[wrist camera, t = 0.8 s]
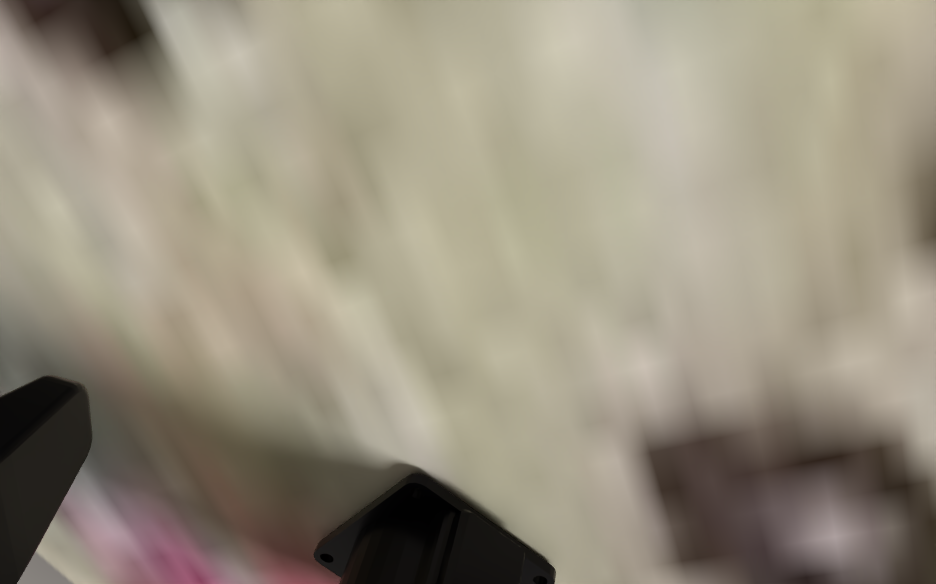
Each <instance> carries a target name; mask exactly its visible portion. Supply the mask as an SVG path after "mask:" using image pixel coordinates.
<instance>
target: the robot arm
mask: <svg viewBox="0 0 936 584" xmlns="http://www.w3.org/2000/svg"><path fill="white" fill-rule="evenodd" d="M91 443H92V426H91V416H90V406H89V397H88V391H87V389H86V388H85V386H84V385H83V384H81V383H79V382H75V381H72V380H68V379H65V378H61V377H58V376H52V375H48V376H44V377H41V378H38V379H36V380H34V381H32V382H30V383H28V384H26V385H23V386H21V387H19V388H17V389H15V390H13V391H11V392H9V393H7V394H5V395H3V396H1V397H0V584H17V582H18V581H19V579H20V577H21V575H22V574H23V572H24V570H25V568H26V567H27V565H28V564H29V562H30V560H31V558H32V556H33V555H34V553H35V551H36V549H37V547H38V545H39V544H40V542H41V540H42V538H43V536H44V534H45V533H46V531H47V529H48V527H49V525H50V523H51V522H52V520H53V518H54V516H55V514H56V512H57V511H58V509H59V507H60V505H61V503H62V501H63V500H64V498H65V496H66V494H67V492H68V490H69V488H70V487H71V485H72V483H73V481H74V479H75V477H76V476H77V474H78V472H79V470H80V468H81V466H82V465H83V463H84V461H85V459H86V457H87V455H88V453H89V450H90V447H91ZM417 488H419V489H417ZM314 558H315V560H316V561H317V562H319V563H320V564H321V565H323V566H324V567H326V568H327V569H329V570H330V571H332V572H333V573H335V574H337V575H338V576H340V577H341V581H340V583H339V584H554V583H555V576H556V571H555V568H554V567H553V566H552V565H550V564H549V563H547V562H546V561H545V560H543V559H542V558H540V557H539V556H538V555H536V554H535V553H534V552H532V551H531V550H529V549H528V548H527V547H525V546H524V545H522V544H521V543H520V542H518V541H517V540H515V539H514V538H513V537H511V536H510V535H508V534H507V533H506V532H504V531H503V530H501V529H500V528H499V527H497V526H496V525H494V524H493V523H492V522H490V521H489V520H487V519H486V518H485V517H483V516H482V515H480V514H479V513H478V512H476V511H475V510H473V509H472V508H471V507H469V506H468V505H466V504H465V503H464V502H462V501H461V500H459V499H458V498H457V497H455V496H454V495H452V494H451V493H450V492H448V491H447V490H446V489H444V488H443V487H441V486H440V485H439V484H437V483H436V482H434V481H433V480H432V479H430V478H429V477H427V476H425V475H422V474H411V475H409V476H407V477H406V478H405V479H403V480H402V481H401V482H399V483H398V484H396V485H395V486H394V487H392V488H391V489H390V490H388V491H387V492H386V493H384V494H383V495H382V496H380V497H379V498H378V499H376V500H375V501H374V502H372V503H371V504H370V505H368V506H367V507H366V508H364V509H363V510H362V511H360V512H359V513H358V514H356V515H355V516H354V517H352V518H351V519H350V520H348V521H347V522H346V523H344V524H343V525H341V526H340V527H339V528H337V529H336V530H335V531H333V532H332V533H331V534H329V535H328V536H327V537H325V538H324V539H323V540H321V541H320V542H319V543H318V545H317V547H316V549H315V552H314Z"/></svg>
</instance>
